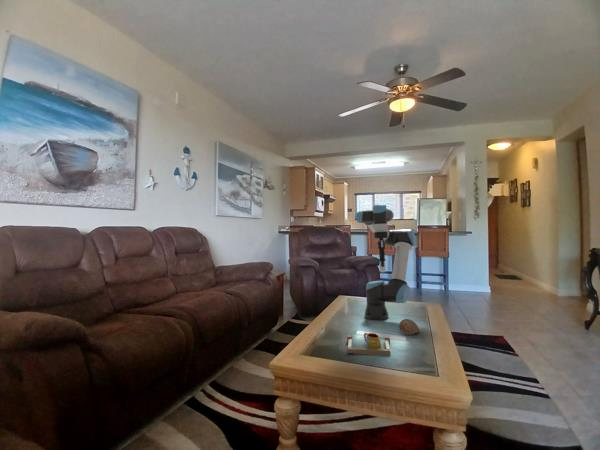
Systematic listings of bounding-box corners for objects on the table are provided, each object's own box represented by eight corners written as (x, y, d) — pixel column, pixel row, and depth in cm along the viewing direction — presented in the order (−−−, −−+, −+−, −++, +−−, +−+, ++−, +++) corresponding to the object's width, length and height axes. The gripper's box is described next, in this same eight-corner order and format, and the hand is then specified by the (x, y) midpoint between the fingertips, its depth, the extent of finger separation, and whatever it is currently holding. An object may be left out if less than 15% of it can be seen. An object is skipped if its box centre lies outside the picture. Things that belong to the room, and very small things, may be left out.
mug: (384, 350, 141) (383, 336, 141) (370, 352, 139) (370, 338, 139) (371, 342, 152) (371, 329, 153) (359, 344, 151) (358, 330, 151)
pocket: (347, 341, 154) (347, 335, 154) (389, 343, 150) (389, 336, 150) (345, 353, 139) (345, 346, 139) (392, 355, 135) (392, 348, 135)
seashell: (423, 334, 158) (412, 318, 159) (409, 343, 159) (398, 327, 160) (419, 328, 168) (408, 313, 169) (405, 336, 169) (394, 321, 170)
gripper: (373, 231, 181) (375, 270, 180) (374, 231, 169) (376, 273, 168) (386, 231, 180) (388, 270, 179) (388, 231, 167) (390, 273, 166)
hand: (382, 272), depth 173 cm, fingers closed
